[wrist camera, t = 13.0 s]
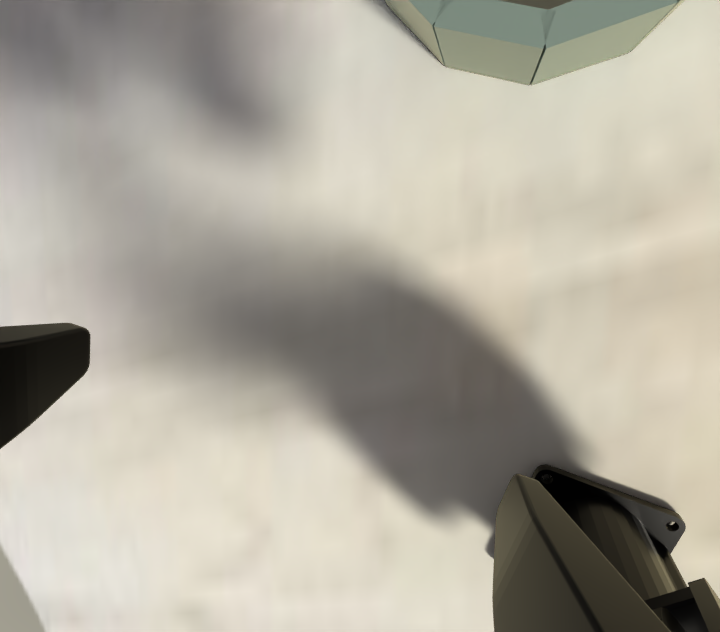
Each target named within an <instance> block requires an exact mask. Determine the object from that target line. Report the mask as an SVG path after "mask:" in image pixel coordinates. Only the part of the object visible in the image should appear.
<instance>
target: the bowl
mask: <svg viewBox="0 0 720 632" xmlns="http://www.w3.org/2000/svg"><path fill="white" fill-rule="evenodd" d="M684 1H685V0H385V2H386V4H387V6H388V7H389V8H390V9H391V10H392V11H393V12H394V13H395V14H396V15H397V16H398V17H399V18H400V19H401V20H402V22H403V23H404V24H405V25H406V26H407V27H408V28H409V29H410V30H411V31H412V32H413V33H414V34H415V35H416V37H417V38H418V39H419V40H420V41H421V42H422V43H423V44H424V45H425V46H426V47H427V48H428V49H429V50H430V52H431V53H432V54H433V55H434V56H435V57H436V58H437V59H438V60H439V61H440V62H441V63H442V64H443V65H444V66H446V67H448V68H453V69H457V70H462V71H466V72H471V73H475V74H480V75H484V76H489V77H493V78H498V79H502V80H507V81H511V82H516V83H521V84H525V85H530V82H531V85H534V84H537V83H540V82H543V81H546V80H549V79H552V78H555V77H558V76H561V75H564V74H567V73H570V72H573V71H576V70H579V69H582V68H585V67H588V66H591V65H594V64H597V63H600V62H603V61H606V60H609V59H612V58H615V57H618V56H621V55H624V54H627V53H629V52H631V51H632V50H633V49H634V48H635V47H636V46H637V45H638V44H639V43H640V42H641V41H642V40H643V39H645V38H646V37H647V36H648V35H649V34H650V33H651V32H652V31H653V30H654V29H655V28H656V27H657V26H658V25H659V24H660V23H661V22H662V21H664V20H665V19H666V18H667V17H668V16H669V15H670V14H671V13H672V12H673V11H674V10H675V9H676V8H677V7H678V6H679V5H680V4H682V3H683V2H684Z"/></svg>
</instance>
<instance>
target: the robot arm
mask: <svg viewBox="0 0 720 632" xmlns="http://www.w3.org/2000/svg"><path fill="white" fill-rule="evenodd" d="M89 364H90V333H89V331H88V330H87V329H86V328H84V327H81V326H78V325H75V324H72V323H55V324H38V325H21V326H4V327H0V449H1V448H2V447H3V446H5V445H6V444H7V443H9V442H10V441H11V440H12V439H14V438H15V437H16V436H18V435H19V434H20V433H21V432H22V431H24V430H25V429H26V428H27V427H29V426H30V425H31V424H32V423H33V422H34V421H35V420H36V419H37V418H39V417H40V416H41V415H42V414H43V413H44V412H45V411H46V410H47V409H48V408H49V407H50V406H51V405H53V404H54V403H55V402H56V401H57V400H58V399H59V398H60V397H61V396H62V395H63V394H64V393H65V392H66V391H68V390H69V389H70V388H71V387H72V386H73V385H74V384H75V383H76V382H77V381H78V380H79V379H80V378H81V377H83V375H84V374H85V373H86V372H87V370H88V368H89ZM545 474H548V475H551V477H550V478H549V479H544V478H542V476H543V475H545ZM671 521H673V522H675V523H674V524H673V525H666V524H667V523H668V522H671ZM685 528H686V527H685V523H684V521H683V520H682V518H681V517H680V516H679V514H677V513H676V512H674V511H671V510H668V509H666V508H663V507H660V506H657V505H655V504H652V503H649V502H647V501H644V500H641V499H639V498H636V497H633V496H631V495H628V494H625V493H622V492H620V491H617V490H614V489H612V488H609V487H606V486H604V485H601V484H598V483H596V482H593V481H590V480H587V479H585V478H582V477H579V476H577V475H574V474H571V473H569V472H566V471H563V470H561V469H558V468H555V467H552V466H550V465H541V466H539V467H537V469H536V470H535V472H534V474H533V476H532V478H530V477H527V476H524V475H521V474H516V475H514V476H513V477H512V479H511V481H510V483H509V485H508V487H507V489H506V492H505V494H504V496H503V498H502V500H501V503H500V505H499V507H498V510H497V515H496V528H495V550H494V572H493V618H494V632H720V599H719V598H718V596H717V595H716V594H715V592H714V591H713V589H712V588H711V586H710V585H709V584H708V582H707V581H706V579H705V578H702V579H699V580H696V581H692V582H689V583H688V585H689V587H687V586H686V584H685V582H684V580H683V578H682V576H681V574H680V572H679V570H678V568H677V566H676V565H675V563H674V561H673V559H672V557H671V555H670V554H671V552H672V550H673V549H674V547H675V546H676V544H677V542H678V541H679V539H680V538H681V536H682V534H683V533H684V531H685Z"/></svg>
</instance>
